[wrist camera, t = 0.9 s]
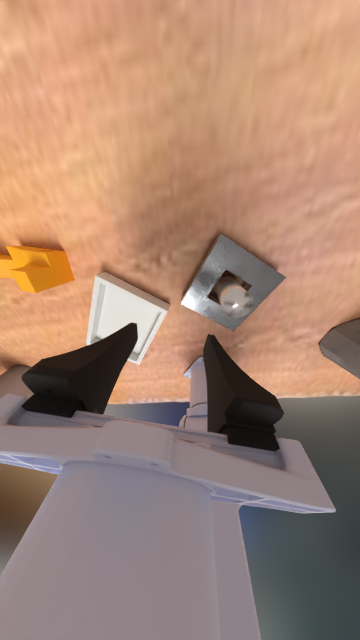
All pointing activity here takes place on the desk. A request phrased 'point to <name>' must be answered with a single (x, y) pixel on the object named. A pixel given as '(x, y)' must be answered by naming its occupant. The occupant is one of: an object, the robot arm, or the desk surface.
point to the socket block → (240, 264)
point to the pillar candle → (14, 382)
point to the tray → (124, 312)
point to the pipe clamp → (35, 267)
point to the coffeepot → (344, 346)
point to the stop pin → (233, 297)
